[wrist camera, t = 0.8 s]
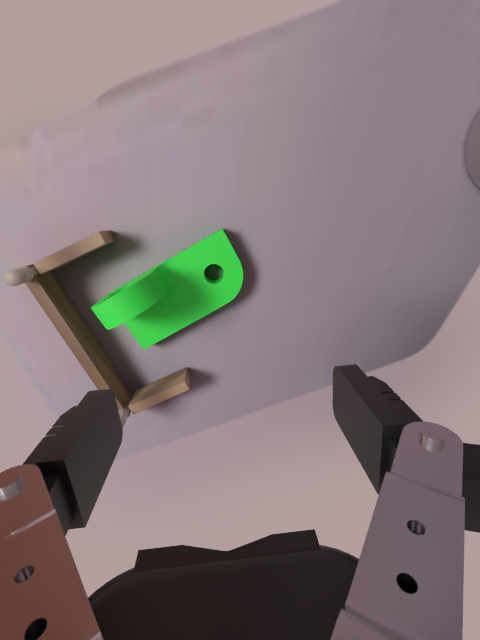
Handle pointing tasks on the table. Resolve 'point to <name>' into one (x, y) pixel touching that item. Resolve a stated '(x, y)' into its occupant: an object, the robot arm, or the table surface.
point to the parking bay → (80, 334)
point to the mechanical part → (174, 292)
